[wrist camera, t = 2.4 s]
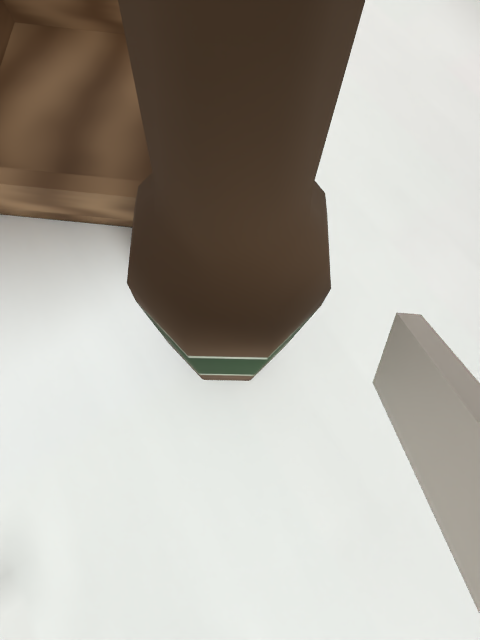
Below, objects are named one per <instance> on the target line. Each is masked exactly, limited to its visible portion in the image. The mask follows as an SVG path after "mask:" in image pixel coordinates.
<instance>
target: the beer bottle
mask: <svg viewBox="0 0 480 640" xmlns="http://www.w3.org/2000/svg"><path fill="white" fill-rule="evenodd" d="M118 3H119V8H120V13H121V18H122V23H123V28H124V33H125V38H126V43H127V48H128V53H129V58H130V63H131V68H132V73H133V78H134V83H135V88H136V93H137V98H138V103H139V108H140V113H141V118H142V123H143V128H144V133H145V138H146V143H147V148H148V153H149V158H150V163H151V168H152V173H151V174H150V175H149V176H148V177H147V178H146V179H145V180H144V181H143V182H142V183H141V184H140V185H139V186H138V191H137V196H136V201H135V207H134V217H133V227H132V237H131V247H130V257H129V267H128V278H127V284H128V286H129V288H130V290H131V292H132V294H133V296H134V298H135V300H136V302H137V303H138V304H139V306H140V307H141V308H142V309H143V311H144V312H145V313H146V315H147V316H148V317H149V318H150V320H151V321H152V322H153V324H154V325H155V326H156V327H157V329H158V330H159V331H160V332H161V334H162V335H163V336H164V338H165V339H166V340H167V341H168V343H169V344H170V345H171V346H172V347H173V348H174V349H175V350H176V351H177V353H178V354H179V355H180V356H181V357H182V358H183V359H184V360H185V361H186V362H187V363H188V364H189V365H190V366H191V367H192V369H193V370H194V371H195V372H196V373H197V374H198V375H199V376H200V377H201V378H202V379H204V380H242V381H249V380H251V379H252V378H253V377H254V376H255V375H256V374H257V373H258V372H259V371H260V370H261V369H262V368H263V367H264V366H265V365H266V364H267V363H268V362H269V361H270V360H271V359H272V358H273V357H274V356H275V355H276V354H277V353H278V352H280V351H281V350H282V349H283V348H284V347H285V345H286V344H287V343H288V342H289V341H290V340H291V339H292V338H293V336H294V335H295V334H296V333H297V332H298V331H299V330H300V329H301V327H302V326H303V325H304V324H305V323H306V322H307V321H308V320H309V318H310V317H311V316H312V315H313V314H314V313H315V312H316V311H317V309H318V308H319V307H320V306H321V305H322V303H323V301H324V300H325V298H326V296H327V294H328V293H329V291H330V289H331V280H330V261H329V242H328V222H327V208H326V199H325V193H324V191H323V190H322V189H321V188H320V187H319V185H318V184H317V183H316V182H315V181H314V180H315V176H316V173H317V169H318V166H319V162H320V159H321V155H322V151H323V148H324V144H325V141H326V137H327V134H328V130H329V127H330V123H331V120H332V116H333V113H334V109H335V105H336V102H337V98H338V95H339V91H340V88H341V84H342V81H343V77H344V74H345V70H346V67H347V63H348V59H349V56H350V52H351V49H352V45H353V42H354V38H355V35H356V31H357V28H358V24H359V21H360V17H361V14H362V10H363V6H364V3H365V0H118Z"/></svg>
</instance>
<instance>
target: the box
mask: <svg viewBox="0 0 480 640" xmlns="http://www.w3.org/2000/svg"><path fill="white" fill-rule="evenodd" d="M151 173H152V168H151V163H150V158H149V153H148V148H147V143H146V138H145V133H144V128H143V123H142V118H141V113H140V108H139V103H138V98H137V93H136V88H135V83H134V78H133V73H132V68H131V63H130V58H129V53H128V48H127V43H126V38H125V33H124V28H123V23H122V18H121V13H120V8H119V3H118V0H0V214H3V215H13V216H23V217H33V218H44V219H54V220H64V221H74V222H84V223H94V224H104V225H114V226H124V227H133V217H134V207H135V201H136V196H137V191H138V186H139V185H140V184H141V183H142V182H143V181H144V180H145V179H146V178H147V177H148V176H149V175H150V174H151Z"/></svg>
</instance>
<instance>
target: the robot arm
mask: <svg viewBox="0 0 480 640" xmlns="http://www.w3.org/2000/svg"><path fill="white" fill-rule="evenodd" d="M373 384H374V386H375V388H376V391H377V393H378V395H379V397H380V399H381V401H382V404H383V406H384V408H385V410H386V412H387V414H388V417H389V419H390V421H391V423H392V425H393V427H394V430H395V432H396V434H397V436H398V438H399V440H400V443H401V445H402V447H403V449H404V451H405V453H406V456H407V458H408V460H409V462H410V464H411V466H412V469H413V471H414V473H415V475H416V477H417V479H418V482H419V484H420V486H421V488H422V490H423V492H424V495H425V497H426V499H427V501H428V503H429V505H430V508H431V510H432V512H433V514H434V516H435V518H436V521H437V523H438V525H439V527H440V529H441V531H442V534H443V536H444V538H445V540H446V542H447V544H448V547H449V549H450V551H451V553H452V555H453V557H454V560H455V562H456V564H457V566H458V568H459V570H460V573H461V575H462V577H463V579H464V581H465V583H466V586H467V588H468V590H469V592H470V594H471V596H472V599H473V601H474V603H475V605H476V607H477V609H478V612H479V613H480V383H479V382H478V381H477V380H476V378H475V377H474V376H473V375H472V374H471V373H470V371H469V370H468V369H467V368H466V367H465V366H464V364H463V363H462V362H461V361H460V360H459V359H458V357H457V356H456V355H455V354H454V353H453V352H452V350H451V349H450V348H449V347H448V346H447V344H446V343H445V342H444V341H443V340H442V339H441V337H440V336H439V335H438V334H437V333H436V332H435V330H434V329H433V328H432V327H431V326H430V325H429V323H428V322H427V321H426V320H425V319H424V318H423V316H422V315H418V314H406V313H396V316H395V319H394V322H393V325H392V328H391V331H390V333H389V336H388V339H387V342H386V345H385V348H384V351H383V354H382V357H381V360H380V363H379V366H378V369H377V371H376V374H375V377H374V380H373Z"/></svg>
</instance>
